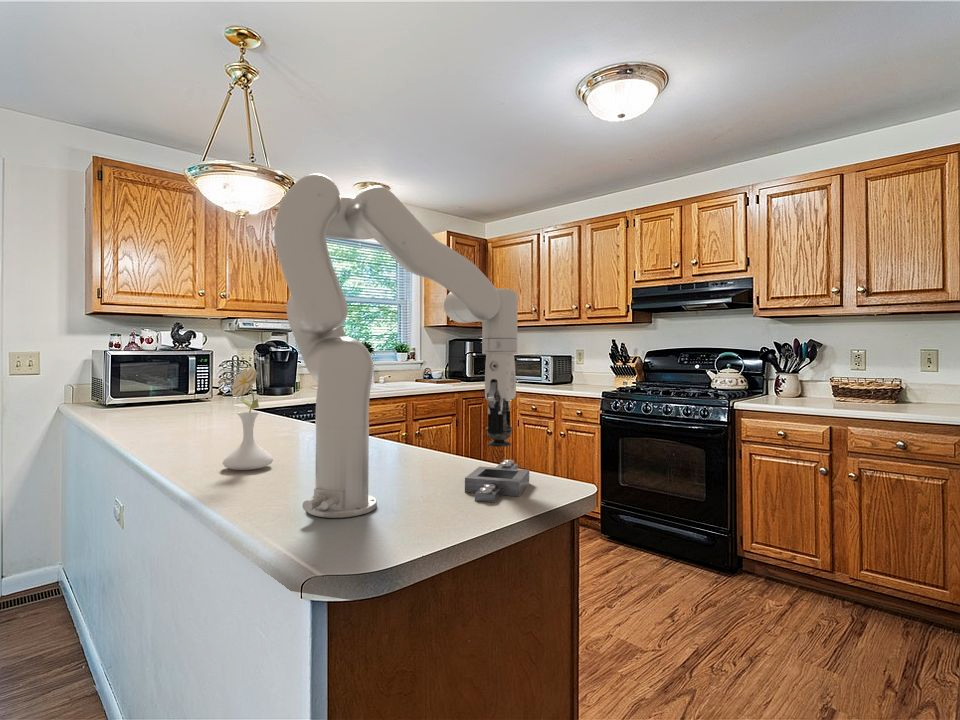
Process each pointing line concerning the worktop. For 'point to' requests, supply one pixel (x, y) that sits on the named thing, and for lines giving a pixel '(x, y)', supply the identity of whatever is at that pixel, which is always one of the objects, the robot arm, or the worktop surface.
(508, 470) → the frame
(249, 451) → the flower in vase
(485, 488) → the chain end near
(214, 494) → the worktop surface
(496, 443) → the salt shaker
